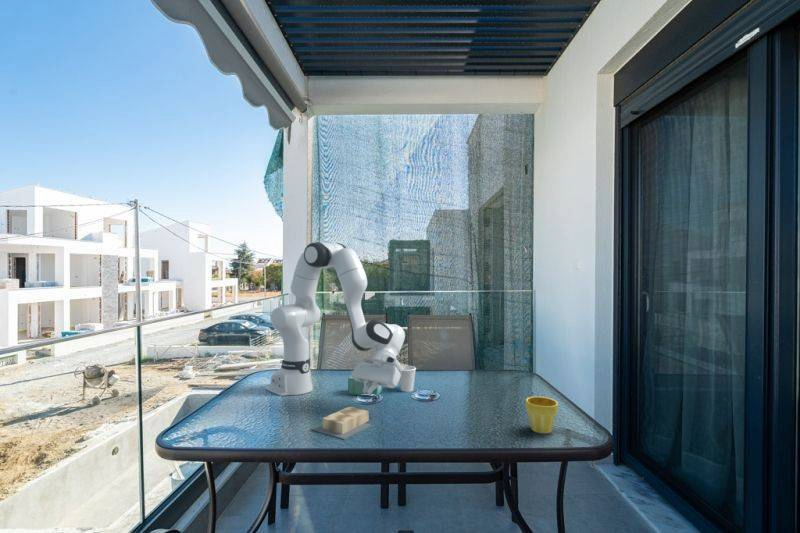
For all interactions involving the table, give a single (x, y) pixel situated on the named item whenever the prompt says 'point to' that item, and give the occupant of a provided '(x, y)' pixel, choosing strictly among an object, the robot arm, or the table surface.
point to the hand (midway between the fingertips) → (366, 393)
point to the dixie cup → (407, 378)
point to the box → (360, 387)
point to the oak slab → (345, 420)
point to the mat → (342, 436)
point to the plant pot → (541, 413)
